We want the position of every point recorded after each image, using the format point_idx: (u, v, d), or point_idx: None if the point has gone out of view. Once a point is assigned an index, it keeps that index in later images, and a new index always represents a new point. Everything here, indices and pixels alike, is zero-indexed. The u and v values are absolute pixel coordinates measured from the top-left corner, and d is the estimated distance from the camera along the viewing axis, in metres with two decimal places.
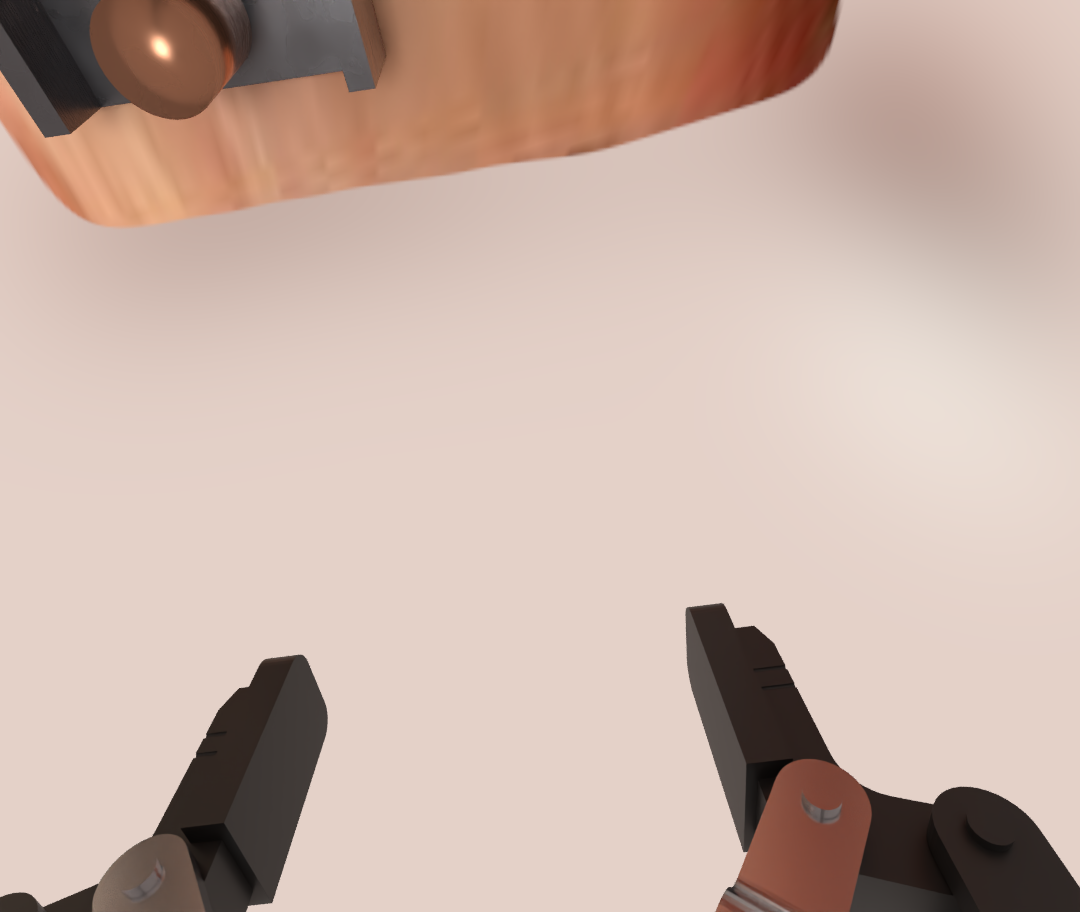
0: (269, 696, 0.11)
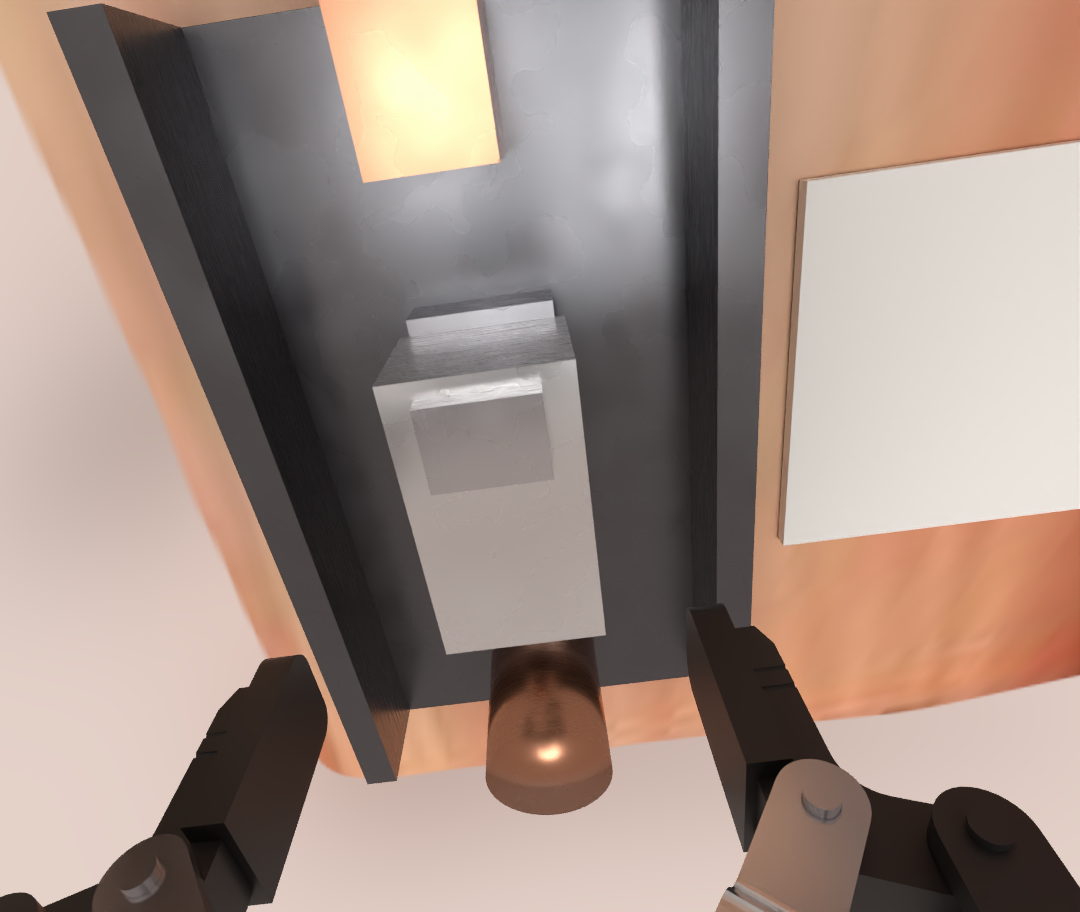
0: (269, 696, 0.11)
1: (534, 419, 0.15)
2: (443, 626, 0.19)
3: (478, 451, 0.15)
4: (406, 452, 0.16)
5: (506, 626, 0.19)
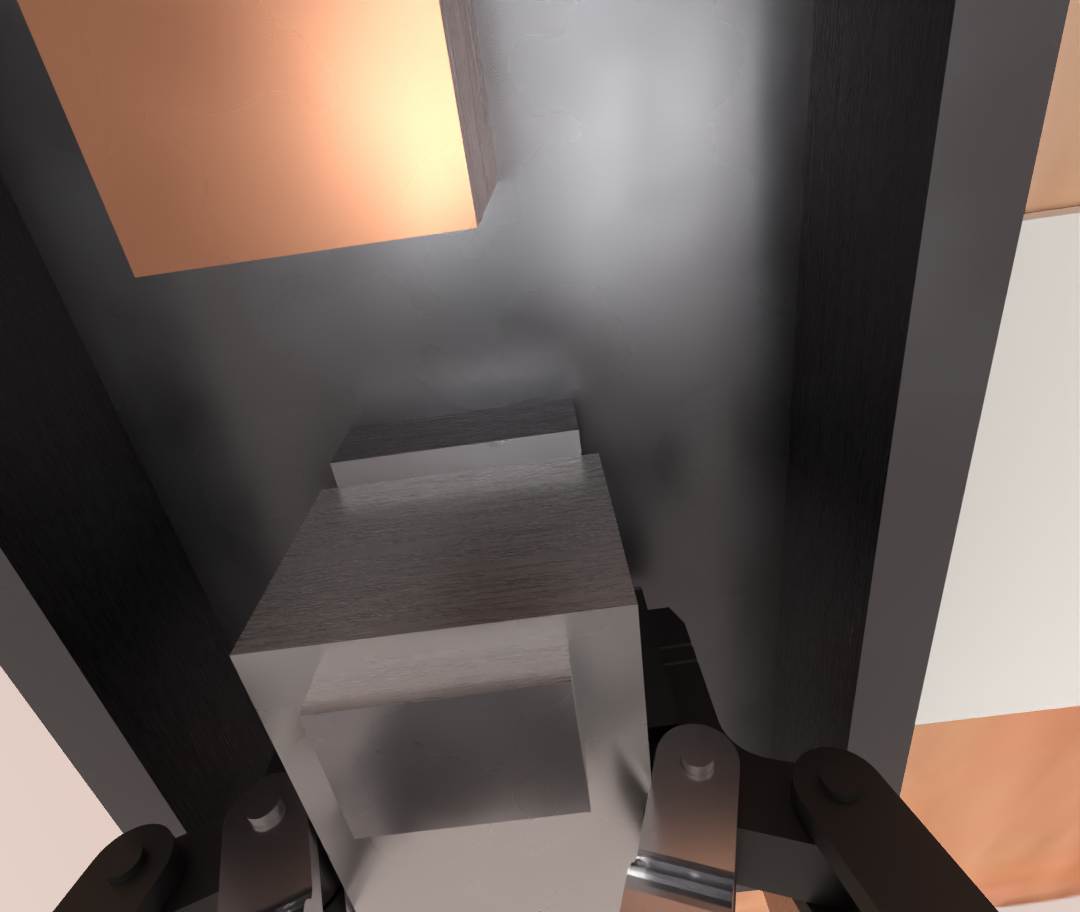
0: None
1: (554, 724, 0.07)
2: None
3: (443, 775, 0.08)
4: (308, 753, 0.08)
5: None
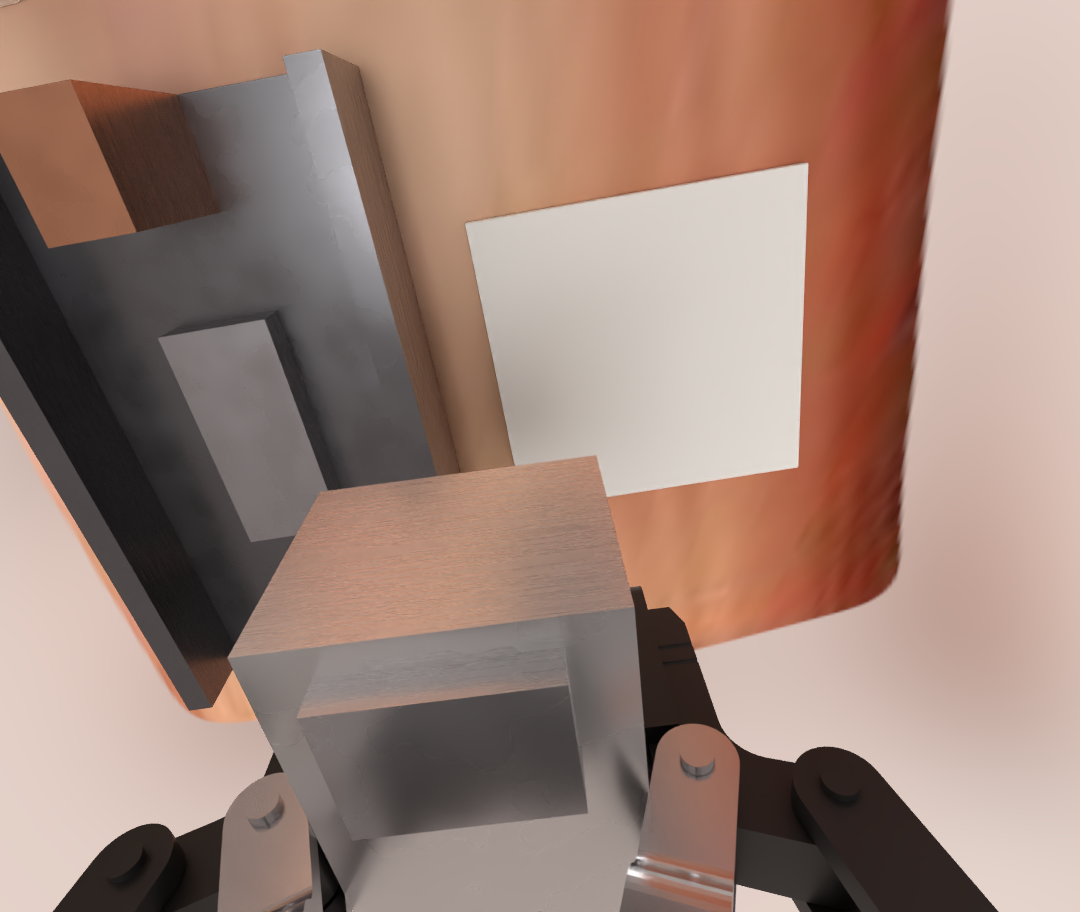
0: None
1: (551, 727, 0.07)
2: None
3: (440, 777, 0.08)
4: (306, 755, 0.08)
5: None
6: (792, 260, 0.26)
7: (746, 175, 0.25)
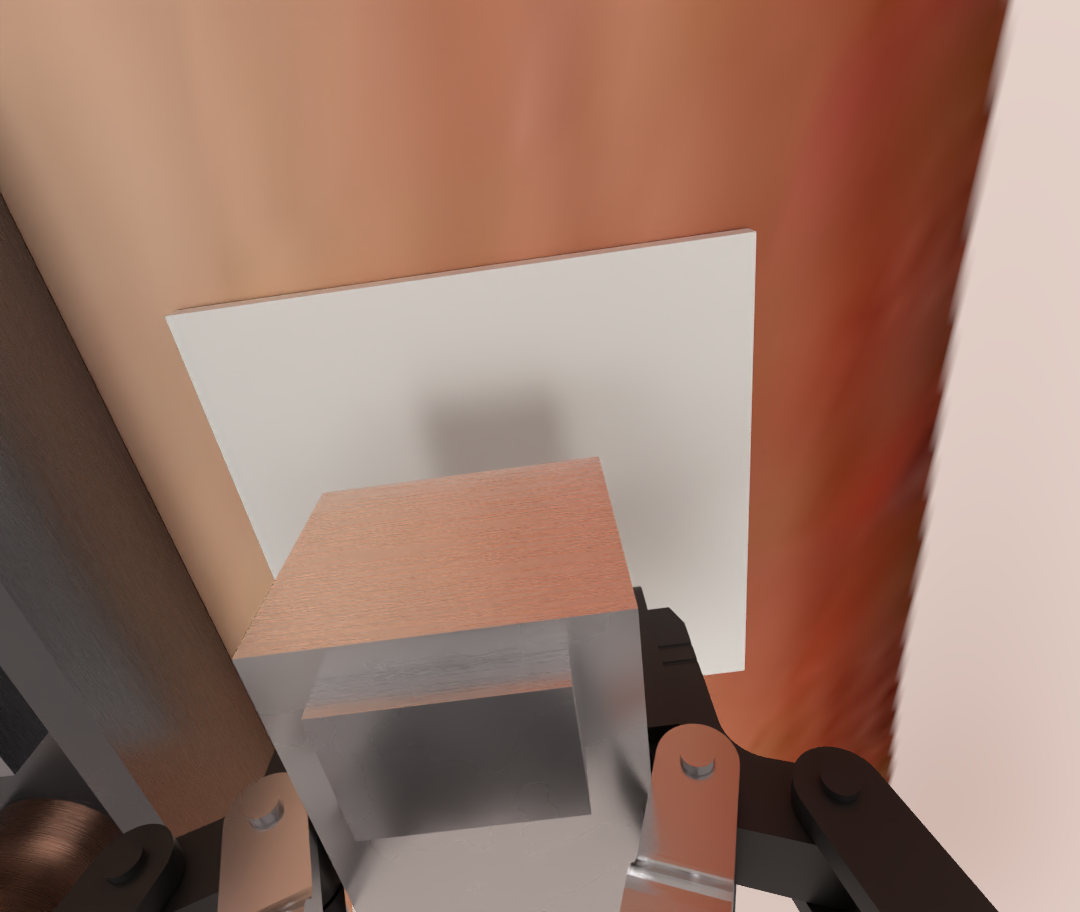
0: None
1: (555, 728, 0.07)
2: None
3: (443, 778, 0.08)
4: (309, 756, 0.08)
5: None
6: (732, 385, 0.16)
7: (649, 249, 0.14)
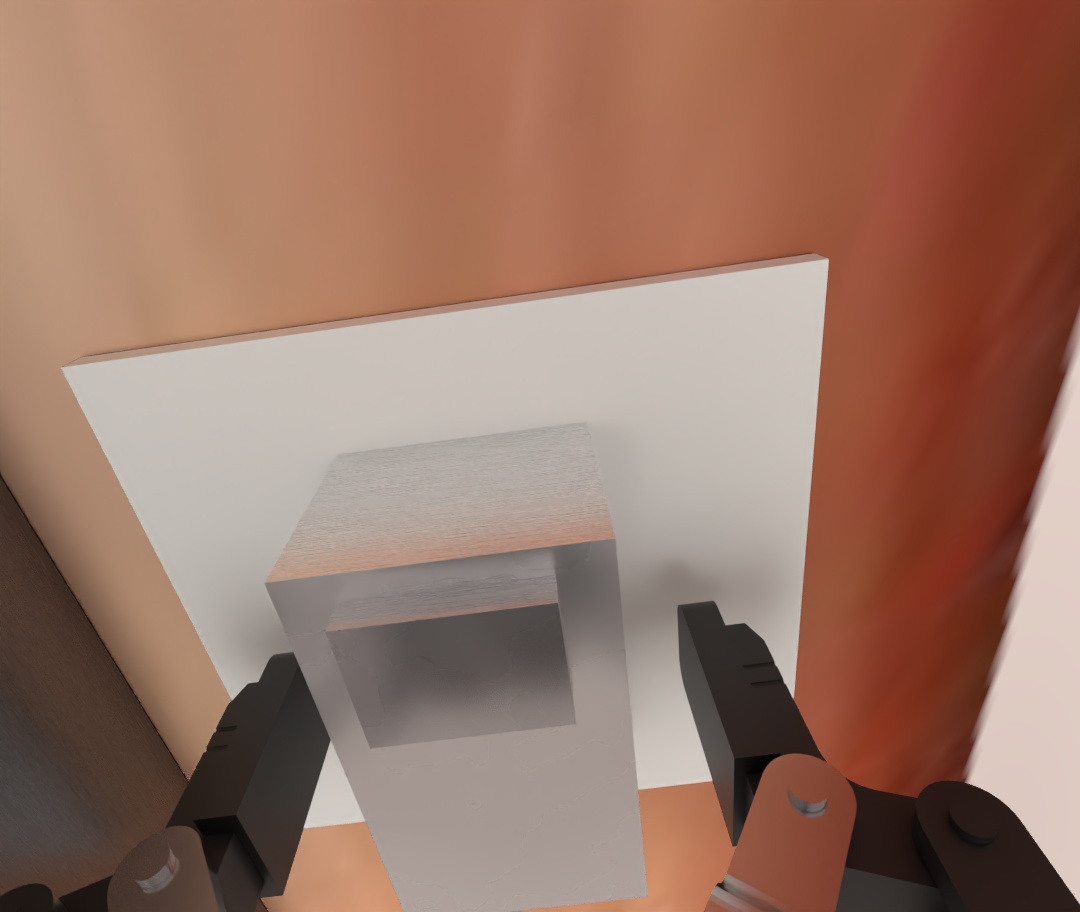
0: (279, 690, 0.12)
1: (543, 641, 0.09)
2: (402, 891, 0.12)
3: (447, 688, 0.09)
4: (329, 675, 0.10)
5: (497, 889, 0.12)
6: (788, 449, 0.13)
7: (688, 281, 0.11)
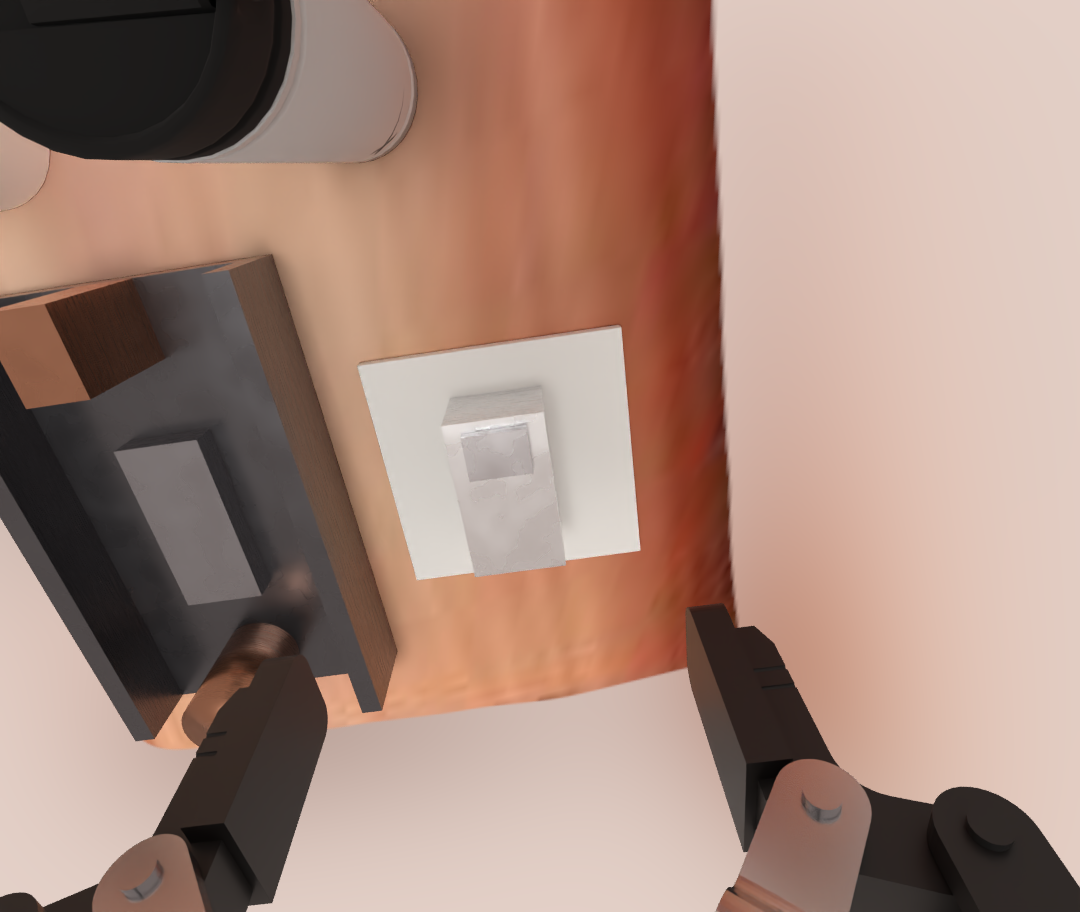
0: (269, 696, 0.11)
1: (522, 442, 0.30)
2: (473, 559, 0.33)
3: (494, 458, 0.30)
4: (456, 460, 0.31)
5: (509, 559, 0.33)
6: (617, 395, 0.34)
7: (573, 335, 0.32)
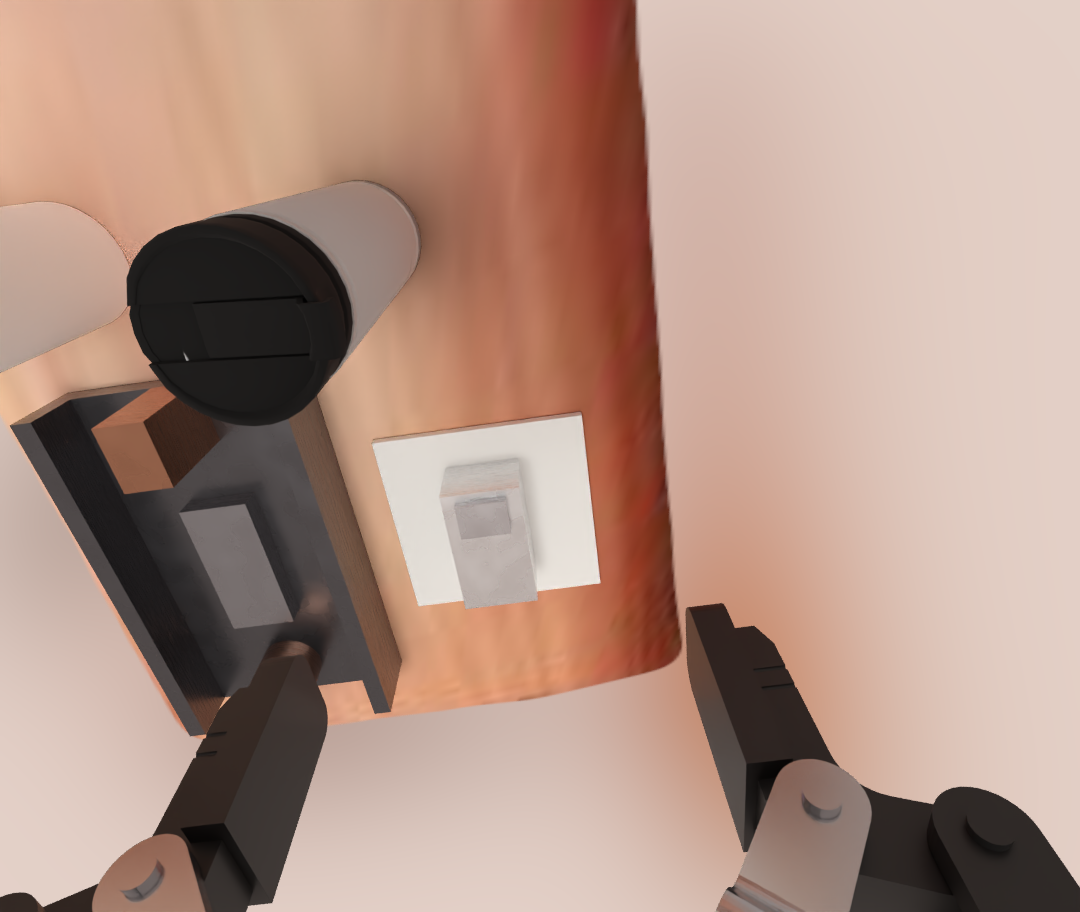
0: (269, 696, 0.11)
1: (502, 510, 0.38)
2: (464, 595, 0.42)
3: (480, 522, 0.39)
4: (451, 522, 0.39)
5: (492, 595, 0.42)
6: (579, 465, 0.42)
7: (544, 421, 0.41)
